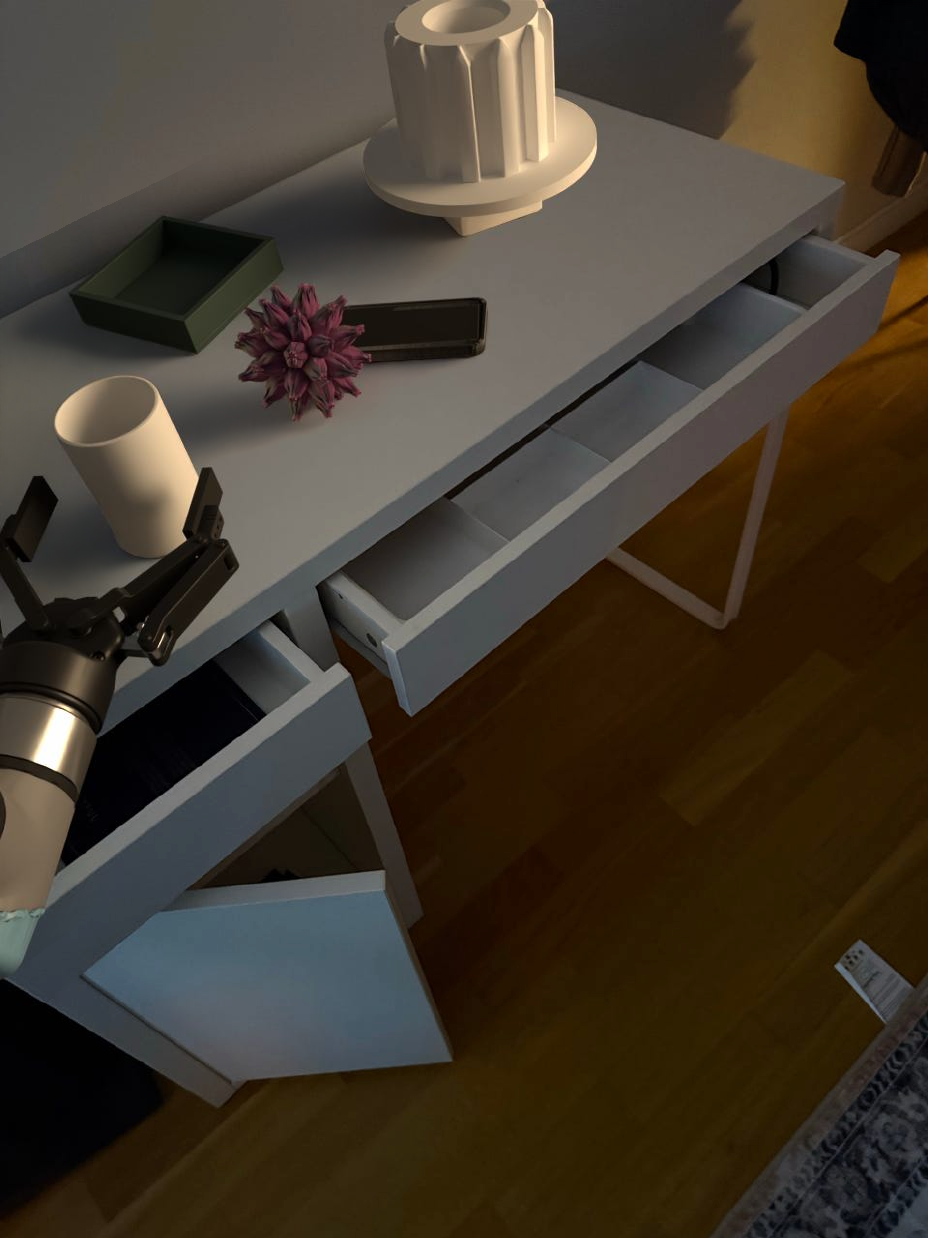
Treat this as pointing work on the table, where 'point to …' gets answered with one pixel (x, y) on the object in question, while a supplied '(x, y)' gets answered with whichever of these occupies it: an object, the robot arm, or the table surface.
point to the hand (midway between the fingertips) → (128, 483)
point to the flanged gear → (476, 115)
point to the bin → (178, 283)
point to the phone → (419, 328)
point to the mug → (129, 461)
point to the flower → (302, 351)
